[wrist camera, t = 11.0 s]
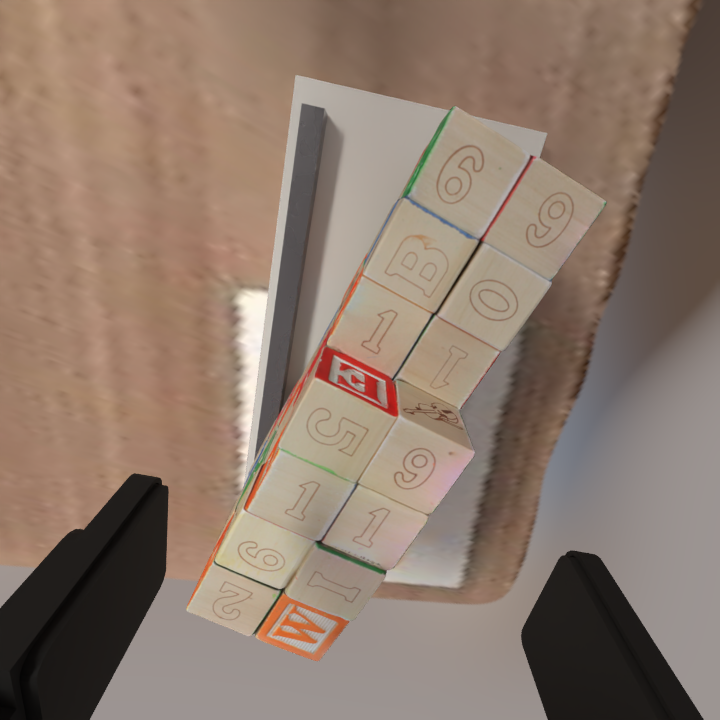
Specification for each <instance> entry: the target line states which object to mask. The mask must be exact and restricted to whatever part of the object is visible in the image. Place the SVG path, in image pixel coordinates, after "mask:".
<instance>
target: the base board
mask: <svg viewBox="0 0 720 720" xmlns="http://www.w3.org/2000/svg"><path fill="white" fill-rule="evenodd" d="M449 111H450V110H445V109H441V108H437V107H432V106H428V105H424V104H420V103H415V102H411V101H407V100H402V99H398V98H394V97H389V96H385V95H381V94H376V93H372V92H368V91H363V90H359V89H355V88H351V87H346V86H342V85H338V84H333V83H329V82H325V81H320V80H316V79H312V78H307V77H303V76H299V75H296V77H295V85H294V93H293V101H292V109H291V117H290V125H289V132H288V140H287V148H286V156H285V164H284V172H283V180H282V188H281V196H280V204H279V212H278V220H277V228H276V236H275V243H274V251H273V259H272V267H271V275H270V283H269V291H268V299H267V307H266V315H265V323H264V331H263V339H262V347H261V355H260V362H259V370H258V378H257V386H256V394H255V402H254V410H253V418H252V426H251V434H250V442H249V450H248V458H247V466H246V474H245V481H244V484H245V482H246V480H247V478H248V476H249V475H248V473H249V471H250V468H251V466H252V464H253V462H254V460H255V458H256V456H257V454H258V452H259V450H260V447H261V445H262V444H263V442H264V440H265V438H266V436H267V435H268V433H269V431H270V429H271V427H272V425H273V424H274V422H275V420H276V418H277V417H278V416H279V414H280V412H281V410H282V408H283V406H284V405H285V403H286V401H287V399H288V397H289V396H290V394H291V392H292V390H293V388H294V387H295V385H296V383H297V381H298V380H299V379H300V378H301V376H302V374H303V372H304V370H305V369H306V367H307V365H308V363H309V361H310V359H311V358H312V356H313V354H314V352H315V350H316V349H317V347H318V345H319V343H320V341H321V339H322V337H323V335H324V333H325V331H326V330H327V328H328V326H329V324H330V322H331V321H332V319H333V317H334V315H335V313H336V311H337V310H338V308H339V306H340V304H341V301H342V299H343V296H344V294H345V292H346V290H347V289H348V287H349V285H350V283H351V281H352V279H353V278H354V276H355V274H356V272H357V270H358V268H359V267H360V265H361V263H362V261H363V259H364V257H365V256H366V254H367V252H368V251H369V249H370V247H371V245H372V243H373V241H374V239H375V237H376V235H377V234H378V232H379V230H380V228H381V226H382V224H383V222H384V221H385V219H386V217H387V215H388V213H389V211H390V210H391V208H392V206H393V204H394V203H396V202H397V200H398V198H399V196H400V194H401V192H402V191H403V189H404V187H405V185H406V183H407V181H408V179H409V178H410V176H411V174H412V172H413V170H414V168H415V166H416V164H417V162H418V161H419V159H420V157H421V155H422V153H423V151H424V149H425V148H426V146H427V145H428V144H429V142H430V140H431V139H432V137H433V136H434V134H435V132H436V130H437V128H438V126H439V124H440V123H441V121H442V120H443V119H444V117H445V116H446V115H447V113H448V112H449ZM472 117H474V118H475V119H477V120H479V121H480V122H482V123H483V124H485V125H486V126H487V127H489V128H491V129H493V130H494V131H496V132H498V133H499V134H501V135H502V136H504V137H505V138H507V139H508V140H510V141H511V142H513V143H514V144H516V145H517V146H519V147H520V148H522V149H523V150H525V151H526V152H528V153H529V154H530V155H532V156H537V157H539V158H540V155H541V152H542V149H543V146H544V142H545V139H546V136H547V133H545V132H540V131H536V130H532V129H527V128H523V127H519V126H514V125H510V124H506V123H502V122H497V121H493V120H489V119H484V118H480V117H476V116H472Z"/></svg>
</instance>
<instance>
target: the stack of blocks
mask: <svg viewBox="0 0 720 720" xmlns="http://www.w3.org/2000/svg"><path fill="white" fill-rule="evenodd" d="M606 203H607V201H605V200H604V199H602V198H601V197H599V196H598V195H596V194H595V193H593V192H592V191H590V190H589V189H587V188H585V187H584V186H582V185H581V184H579V183H578V182H576V181H574V180H573V179H571V178H570V177H568V176H566V175H565V174H563V173H562V172H561V171H559V170H558V169H556V168H555V167H553V166H551V165H550V164H548V163H547V162H545V161H544V160H542V159H541V158H539V157H537V156H532V155H530V154H529V153H528V152H526V151H525V150H523V149H522V148H520V147H519V146H517V145H516V144H514V143H513V142H511V141H510V140H508V139H507V138H505V137H504V136H502V135H501V134H499V133H498V132H496V131H494V130H493V129H491V128H489V127H487V126H486V125H485V124H483V123H482V122H480V121H479V120H477V119H475V118H474V117H472V116H471V115H469V114H468V113H466V112H465V111H463V110H461V109H460V108H458V107H456V106H454V107H452V108H451V109H450V111H449V112H448V113H447V115H446V116H445V117H444V119H443V120H442V121H441V123H440V124H439V126H438V128H437V130H436V132H435V134H434V136H433V137H432V139H431V140H430V142H429V144H428V145H427V146H426V148H425V149H424V151H423V153H422V155H421V157H420V159H419V161H418V162H417V164H416V166H415V168H414V170H413V172H412V174H411V176H410V178H409V179H408V181H407V183H406V185H405V187H404V189H403V191H402V192H401V194H400V196H399V198H398V200H397V202H396V203H394V204H393V206H392V208H391V210H390V211H389V213H388V215H387V217H386V219H385V221H384V222H383V224H382V226H381V228H380V230H379V232H378V234H377V235H376V237H375V239H374V241H373V243H372V245H371V247H370V249H369V251H368V252H367V254H366V256H365V257H364V259H363V261H362V263H361V265H360V267H359V268H358V270H357V272H356V274H355V276H354V278H353V279H352V281H351V283H350V285H349V287H348V289H347V290H346V292H345V294H344V296H343V299H342V301H341V304H340V306H339V308H338V310H337V311H336V313H335V315H334V317H333V319H332V321H331V322H330V324H329V326H328V328H327V330H326V331H325V333H324V335H323V337H322V339H321V341H320V343H319V345H318V347H317V349H316V350H315V352H314V354H313V356H312V358H311V359H310V361H309V363H308V365H307V367H306V369H305V370H304V372H303V374H302V376H301V378H300V379H299V380H298V381H297V383H296V385H295V387H294V388H293V390H292V392H291V394H290V396H289V397H288V399H287V401H286V403H285V405H284V406H283V408H282V410H281V412H280V414H279V416H278V417H277V418H276V420H275V422H274V424H273V425H272V427H271V429H270V431H269V433H268V435H267V436H266V438H265V440H264V442H263V444H262V445H261V447H260V450H259V452H258V454H257V456H256V458H255V460H254V462H253V464H252V466H251V468H250V471H249V473H248V475H249V476H248V478H247V480H246V482H245V484H244V487H243V489H242V492H241V494H240V496H239V498H238V499H237V501H236V503H235V505H234V507H233V509H232V511H231V513H230V515H229V517H228V519H227V521H226V523H225V525H224V527H223V529H222V531H221V534H220V536H219V538H218V540H217V543H216V545H215V547H214V549H213V552H212V554H211V556H210V558H209V560H208V562H207V564H206V566H205V569H204V571H203V573H202V575H201V577H200V579H199V582H198V584H197V586H196V588H195V590H194V592H193V594H192V596H191V599H190V601H189V603H188V605H187V609H186V610H187V611H188V612H190V613H192V614H195V615H198V616H200V617H203V618H205V619H208V620H210V621H212V622H215V623H217V624H220V625H222V626H225V627H227V628H230V629H232V630H235V631H237V632H239V633H241V634H244V635H246V636H249V637H250V636H251V635H253V634H254V633H255V636H256V638H257V639H259V640H261V641H263V642H265V643H268V644H271V645H274V646H277V647H279V648H281V649H284V650H287V651H290V652H292V653H295V654H298V655H300V656H303V657H306V658H309V659H312V660H314V661H320V660H321V658H322V657H323V656H324V655H325V653H326V652H327V650H328V649H329V648H330V647H331V645H332V644H333V642H334V641H335V640H336V639H337V637H338V636H339V635H340V634H341V632H342V631H343V629H344V628H345V627H346V626H347V624H348V623H349V621H353V620H354V619H355V618H356V617H357V615H358V614H359V613H360V611H361V610H362V609H363V608H364V606H365V605H366V603H367V602H368V601H369V599H370V598H371V597H372V595H373V594H374V593H375V591H376V590H377V588H378V587H379V586H380V584H381V583H382V581H383V580H384V578H385V576H386V571H387V570H391V569H392V568H394V567H395V565H396V564H397V563H398V561H399V560H400V559H401V557H402V556H403V554H404V553H405V552H406V550H407V549H408V548H409V546H410V545H411V543H412V542H413V541H414V539H415V538H416V537H417V535H418V534H419V532H420V531H421V530H422V528H423V527H424V526H425V524H426V523H427V521H428V517H429V514H431V513H433V512H434V510H435V509H436V508H437V506H438V505H439V504H440V502H441V501H442V499H443V498H444V497H445V495H446V494H447V493H448V491H449V490H450V488H451V487H452V486H453V484H454V483H455V482H456V480H457V479H458V478H459V476H460V475H461V474H462V472H463V471H464V469H465V468H466V466H467V465H468V464H469V462H470V461H471V460H472V458H473V457H474V456H475V453H476V452H475V450H474V448H473V446H472V443H471V440H470V437H469V435H468V432H467V430H466V427H465V424H464V422H463V419H462V416H461V414H460V411H459V410H460V409H461V408H462V406H463V405H464V404H465V402H466V401H467V399H468V398H469V397H470V395H471V394H472V392H473V391H474V390H475V388H476V387H477V385H478V384H479V383H480V381H481V380H482V378H483V377H484V375H485V374H486V373H487V371H488V370H489V369H490V367H491V366H492V364H493V363H494V362H495V360H496V359H497V357H498V356H499V354H500V352H502V351H504V350H505V349H506V348H507V347H508V345H509V344H510V343H511V341H512V340H513V338H514V337H515V336H516V334H517V333H518V332H519V330H520V329H521V327H522V326H523V325H524V323H525V322H526V320H527V319H528V318H529V316H530V315H531V313H532V312H533V311H534V309H535V308H536V306H537V305H538V304H539V302H540V301H541V299H542V298H543V297H544V295H545V294H546V292H547V291H548V290H549V288H550V287H551V285H552V281H551V280H552V278H553V277H554V276H555V275H556V274H557V272H558V271H559V270H560V269H561V267H562V266H563V264H564V263H565V262H566V260H567V259H568V257H569V256H570V255H571V253H572V252H573V250H574V249H575V247H576V246H577V245H578V243H579V242H580V241H581V239H582V238H583V237H584V235H585V234H586V232H587V231H588V229H589V228H590V226H591V225H592V224H593V222H594V221H595V220H596V218H597V217H598V215H599V214H600V213H601V211H602V210H603V208H604V207H605V205H606Z"/></svg>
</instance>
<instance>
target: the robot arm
mask: <svg viewBox="0 0 720 720" xmlns="http://www.w3.org/2000/svg"><path fill="white" fill-rule="evenodd" d="M167 520H168V486H164V485H162V480H161V478H158V477H152V476H147V475H141V474H132V475H131V476H130V477H129V478H128V479H127V480H126V481H125V482H124V484H123V485H122V486H121V487H120V488H119V489H118V491H117V492H116V493H115V494H114V495H113V496H112V498H111V499H110V500H109V501H108V502H107V503H106V505H105V506H104V507H103V508H102V509H101V510H100V512H99V513H98V514H97V515H96V516H95V517H94V519H93V520H92V521H91V522H90V523H89V524H88V526H87V527H86V528H85V529H84V530H82V529H75V530H73V531H71V532H69V533H68V534H67V535H66V536H65V537H64V538H63V539H62V540H61V541H60V542H59V543H58V544H57V546H56V547H55V548H54V549H53V550H52V551H51V552H50V553H49V554H48V556H47V557H46V558H45V559H44V560H43V561H42V562H41V563H40V565H39V566H38V567H37V568H36V569H35V570H34V571H33V573H32V574H31V575H30V576H29V577H28V578H27V579H26V580H25V581H24V582H23V583H22V585H21V586H20V587H19V588H18V589H17V590H16V591H15V592H14V594H13V595H12V596H11V597H10V598H9V599H8V600H7V601H6V602H5V604H4V605H3V606H2V607H1V608H0V720H90V718H91V716H92V714H93V712H94V710H95V708H96V706H97V705H98V703H99V701H100V699H101V697H102V695H103V694H104V692H105V690H106V688H107V686H108V684H109V682H110V680H111V679H112V677H113V675H114V673H115V671H116V669H117V667H118V666H119V664H120V661H121V660H122V658H123V656H124V654H125V652H126V651H127V649H128V647H129V645H130V643H131V641H132V639H133V637H134V636H135V634H136V632H137V630H138V628H139V626H140V624H141V623H142V621H143V619H144V617H145V615H146V613H147V611H148V609H149V608H150V606H151V604H152V602H153V600H154V598H155V596H156V595H157V593H158V591H159V589H160V587H161V585H162V582H163V580H164V576H165V572H166V551H167ZM521 638H522V645H523V648H524V651H525V654H526V657H527V660H528V663H529V666H530V669H531V671H532V675H533V677H534V681H535V683H536V686H537V689H538V692H539V695H540V698H541V701H542V704H543V707H544V710H545V713H546V716H547V718H548V720H703V718H702V716H701V715H700V713H699V712H698V710H697V708H696V707H695V705H694V704H693V702H692V701H691V699H690V697H689V696H688V694H687V693H686V691H685V690H684V688H683V687H682V685H681V684H680V682H679V680H678V679H677V677H676V676H675V674H674V672H673V671H672V670H671V668H670V666H669V665H668V663H667V662H666V660H665V659H664V657H663V655H662V654H661V652H660V651H659V649H658V647H657V646H656V644H655V643H654V642H653V640H652V638H651V637H650V635H649V633H648V632H647V630H646V629H645V627H644V626H643V624H642V623H641V621H640V619H639V618H638V616H637V615H636V613H635V612H634V610H633V609H632V607H631V605H630V604H629V602H628V601H627V599H626V597H625V596H624V594H623V593H622V591H621V590H620V588H619V587H618V585H617V583H616V582H615V580H614V579H613V577H612V576H611V574H610V573H609V571H608V569H607V568H606V566H605V565H604V563H603V562H602V560H601V559H600V558H599V557H598V556H597V555H595V554H589V553H583V552H578V551H569V552H567V553H566V555H565V556H561V557H560V559H559V560H558V562H557V564H556V566H555V568H554V570H553V571H552V573H551V575H550V577H549V579H548V581H547V583H546V585H545V586H544V588H543V590H542V592H541V594H540V596H539V598H538V600H537V602H536V604H535V605H534V608H533V609H532V611H531V613H530V615H529V617H528V619H527V621H526V623H525V625H524V627H523V629H522V634H521Z"/></svg>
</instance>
